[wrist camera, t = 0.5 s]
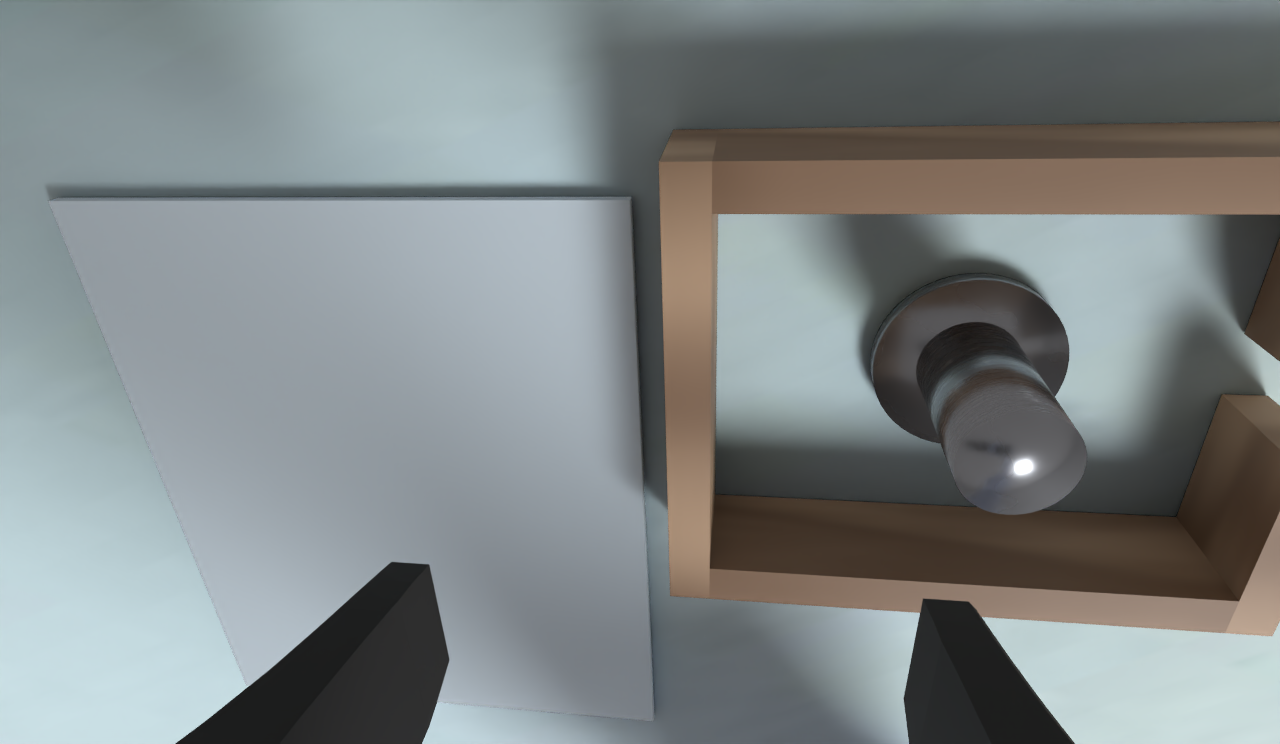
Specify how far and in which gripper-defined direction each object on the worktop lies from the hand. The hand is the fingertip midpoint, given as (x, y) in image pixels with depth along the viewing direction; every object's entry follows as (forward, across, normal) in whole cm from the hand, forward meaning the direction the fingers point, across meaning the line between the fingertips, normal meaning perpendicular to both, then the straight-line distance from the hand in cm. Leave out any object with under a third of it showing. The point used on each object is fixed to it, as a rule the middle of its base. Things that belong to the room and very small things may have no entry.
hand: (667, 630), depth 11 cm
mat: (+9, +9, +5) cm, 14 cm away
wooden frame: (+9, -6, 0) cm, 11 cm away
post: (+9, -6, 0) cm, 11 cm away
